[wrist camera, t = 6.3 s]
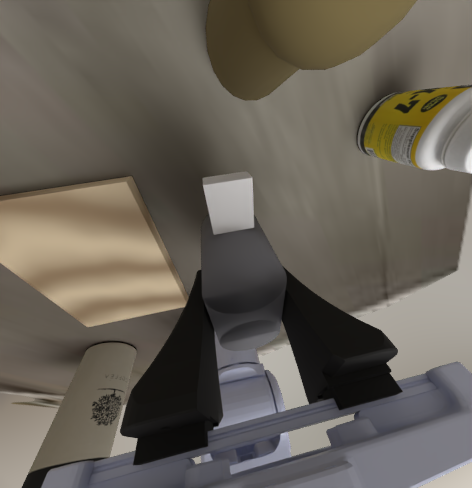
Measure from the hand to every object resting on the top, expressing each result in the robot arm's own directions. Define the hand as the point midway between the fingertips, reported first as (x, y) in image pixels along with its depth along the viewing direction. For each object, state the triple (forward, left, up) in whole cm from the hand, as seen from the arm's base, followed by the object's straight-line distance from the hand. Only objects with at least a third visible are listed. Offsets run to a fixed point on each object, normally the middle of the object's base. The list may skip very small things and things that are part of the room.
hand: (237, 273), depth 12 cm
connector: (+1, 0, -2) cm, 2 cm away
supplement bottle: (+7, -16, -9) cm, 19 cm away
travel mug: (-23, +24, -9) cm, 35 cm away
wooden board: (-3, +14, -8) cm, 17 cm away
